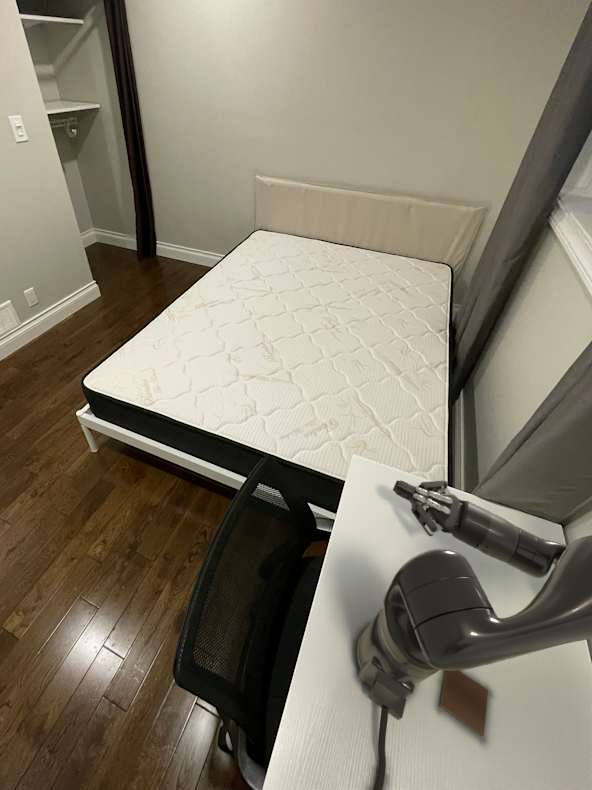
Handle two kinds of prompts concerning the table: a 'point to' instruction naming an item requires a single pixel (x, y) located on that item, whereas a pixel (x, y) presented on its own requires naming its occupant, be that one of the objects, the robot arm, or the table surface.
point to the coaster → (465, 700)
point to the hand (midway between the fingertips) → (394, 485)
